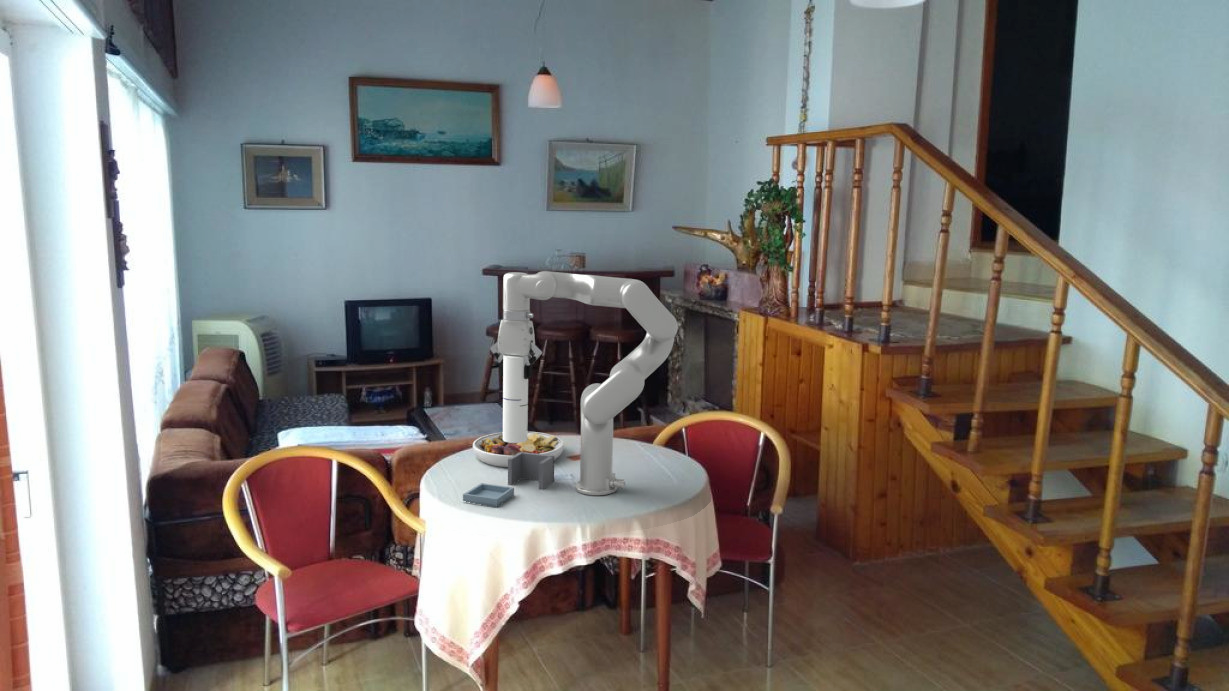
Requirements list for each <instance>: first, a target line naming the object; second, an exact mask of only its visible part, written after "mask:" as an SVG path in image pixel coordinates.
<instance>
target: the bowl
mask: <svg viewBox="0 0 1229 691" xmlns="http://www.w3.org/2000/svg"><path fill="white" fill-rule="evenodd" d="M563 450H564V441H563V440H562V439H561V438H560V437H558V436H555V435H554V434H550V433H549V434H548V433H546V432H545V433H544V432H538V431H537V432H536V431H527V441H525V442H521V443H509V442H505V441H503V431H502V432H495V433H491V434H487V435H483V436H480V437H478V438H477V439H475V440H474V441H473V443H472V451H473V453H474V455H475V457H476V458H477V459H479V460H480V461H481V462H483V463H484V464H488V465H489V466H493V467H499V468H507V467H508V459H509V458H511V457H512V456H514V455H516V454H517V453H519V452H527V453H535V454H543V455H551V456H554V461H555V460H557V459H558V458H559V457H560V456H561V454H562V453H563Z"/></svg>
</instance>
